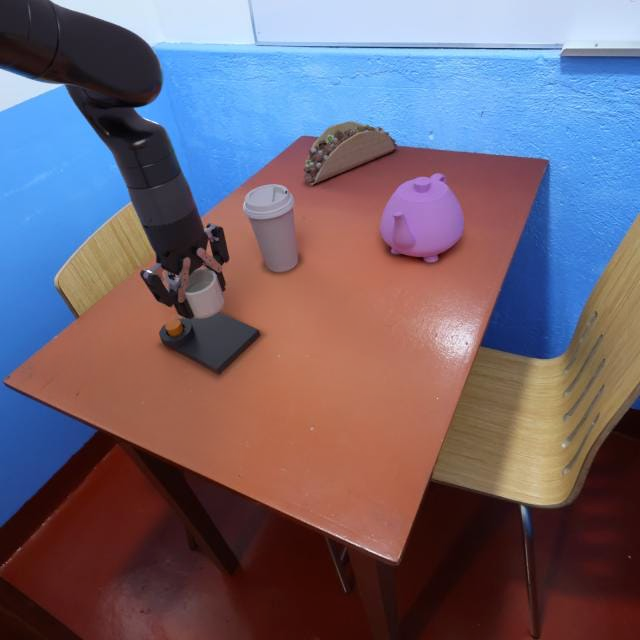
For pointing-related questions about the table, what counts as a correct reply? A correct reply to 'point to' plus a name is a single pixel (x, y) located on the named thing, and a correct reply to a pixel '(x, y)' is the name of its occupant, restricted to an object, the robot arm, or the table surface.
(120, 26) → the robot arm
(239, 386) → the table surface
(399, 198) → the teapot
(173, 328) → the button
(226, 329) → the dark grey flat slab
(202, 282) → the white round cup
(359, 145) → the taco
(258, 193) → the coffee cup
